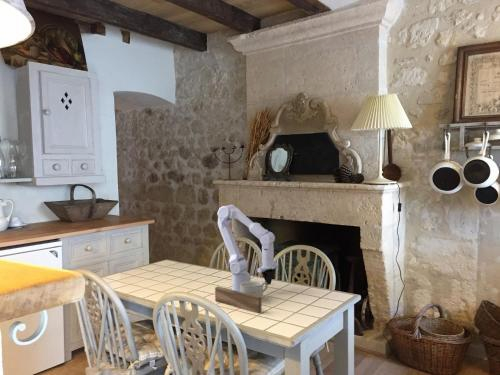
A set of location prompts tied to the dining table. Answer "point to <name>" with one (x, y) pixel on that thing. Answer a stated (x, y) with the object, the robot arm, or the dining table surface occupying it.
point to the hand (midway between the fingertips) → (268, 284)
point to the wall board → (238, 299)
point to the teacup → (253, 287)
